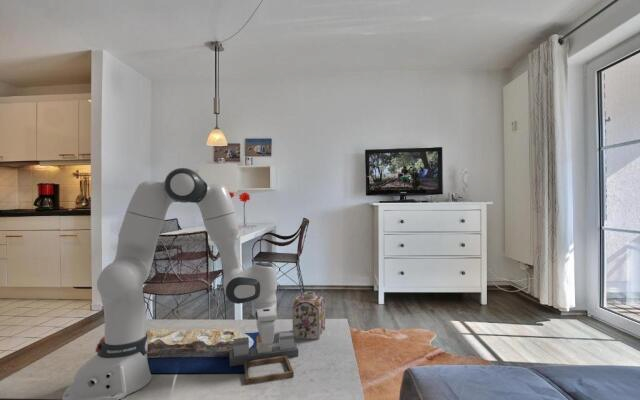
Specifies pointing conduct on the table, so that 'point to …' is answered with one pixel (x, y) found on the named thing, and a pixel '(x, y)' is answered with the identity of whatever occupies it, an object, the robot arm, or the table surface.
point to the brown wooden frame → (271, 376)
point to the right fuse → (286, 341)
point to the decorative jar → (309, 316)
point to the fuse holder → (262, 355)
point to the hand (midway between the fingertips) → (264, 347)
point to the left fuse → (241, 346)
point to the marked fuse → (259, 346)
